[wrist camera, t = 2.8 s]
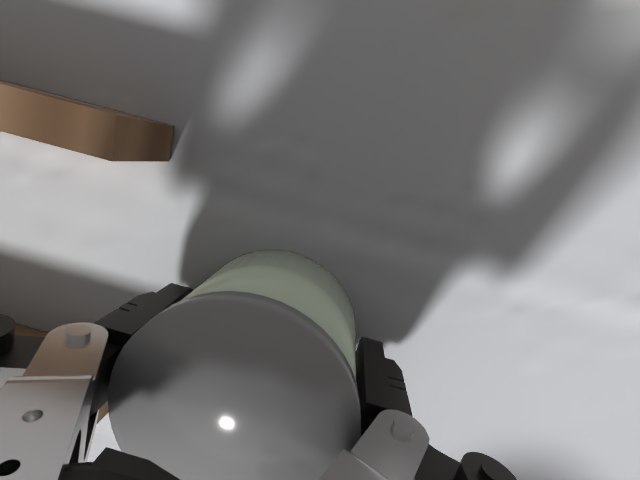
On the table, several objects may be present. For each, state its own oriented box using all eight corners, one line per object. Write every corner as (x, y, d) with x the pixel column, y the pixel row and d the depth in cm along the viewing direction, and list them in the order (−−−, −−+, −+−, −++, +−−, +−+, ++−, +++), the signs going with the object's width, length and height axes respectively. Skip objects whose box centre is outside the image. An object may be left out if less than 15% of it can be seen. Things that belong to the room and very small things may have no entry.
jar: (378, 273, 12) (395, 344, 8) (333, 417, 14) (323, 554, 9) (211, 227, 13) (123, 268, 8) (183, 374, 14) (95, 485, 9)
